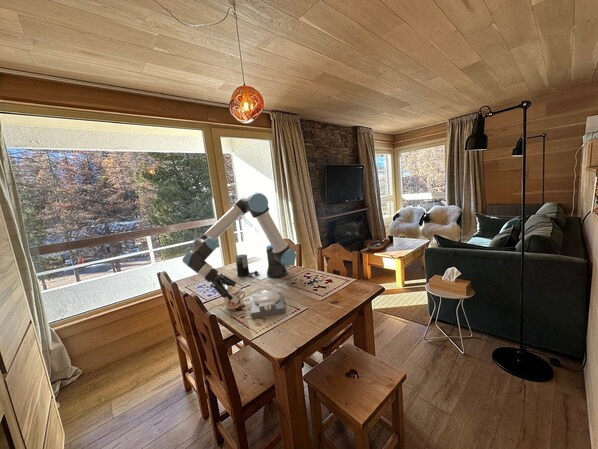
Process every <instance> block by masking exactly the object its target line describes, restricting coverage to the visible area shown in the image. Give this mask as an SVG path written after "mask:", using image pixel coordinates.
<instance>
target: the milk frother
mask: <svg viewBox="0 0 598 449" xmlns="http://www.w3.org/2000/svg"><path fill="white" fill-rule="evenodd" d="M234 258H235V263H236V264H235V265H236V271H237V277H239V278H240V277H247V276H248V275H249V276H250V275H252V274H254V275H258V274H259V273H260V272H259V271H257V270H255V271H254V272H253V271H252V272H250V269H249V262H248V254H239V255H236V256H234Z"/></svg>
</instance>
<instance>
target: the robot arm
mask: <svg viewBox="0 0 598 449" xmlns="http://www.w3.org/2000/svg"><path fill="white" fill-rule="evenodd" d="M269 211H270V208H269V200H268V197H267V196H266V195H264V194H263V193H261V192H247V193H245V194H243V195H242V196H241V197H240V198H239V199H238V200H236V201H235V202H234V203H233V204H232V207H231V208H230V209H229V210H228V211H227V212H225V214H224V215H223V216H222V217H220V219H218V220H217V221H216V222H215V223H214V224H213V225H212V226H211V227H210V228H208V229H207V230H206V231H205V233H203V234H202V235H201V236H200V237H197V238H195V239H194V240H193V247H194V248H195V250H194V251H193V250H190V251H188V252H187V253H185V255H184V256H183V258H182V262H183V263H184V264H185V265H186V266H187V267H188V268H190V269H191V270H192V271H193V272H195V273H196V274H197V275H198V276H200V277H201V278H204V280H205V281H206V282H208V283H211V284H210V286H211V287H212V288H214V290H215V291H216V292H217V293H218V294H219V295H220V296H221V298H225V297H227V298H229V299H230V300H231V301H233V302H234V303H235V304H236V303H237V302H238V301H239V299H238V298H236V297H235V296H234V295H232V294H231V293H230V292H229V293H228V291H227V290H226V289H227V288H226V287H225V286H228V287H229V286H233V287H235V288H239V290H240V291H244V290H243V289H242V288H240V287H239V286H238V285H237V282H236V281H235V280H233V279H231V278H230V277H228V276H226V275H225V274H223V273H221V272H220V274H218V273H219V271H218V269H216V268H214V267H213V266H212V265H211V264H209V263H208V262H207V261H206V260H207V259H208V258H209V257H210V255H211V254H212V253H213V252H214V251H216V249H217V248H218V246H219V243H218V242H217V241H216V240H218V239H219V238H220V236H221V235H222V234H223V233H224V232H225V231H226V230H227V229H229V228H230V227H231V226H232V225H233V224H234V223H235V222H236V221H237V220H238V219H240V217H243V216H245V214H247V213H250V215H251V217H252V218H253V219H256V220H257V222H258V224H259V226H260V228H261V229H262V231H263V233H264V234H265V237H266V238H267V240H268V242H269V243H270V244H268V245H267V246H266V248H265V249H266V256H267V263H268V266H267V270H266V276H267V277H268V278H270V279H278V278H283V277H286V276H287V275H288V269H287V267H290V266H292V265H293V264H294V263H295V261H296V259H297V252H296V250H294V249H293V248H291V246H290V245H289V243H288V242H287V241H285V240H284V238H283V237H282V235H281V232H279V231H280V230H278V228H277V226H276V224H275V221H274V220H273V218H272V216H271V214H270V212H269ZM224 285H225V286H224ZM242 294H244V293H243V292H241V293H240V296H243V295H242Z"/></svg>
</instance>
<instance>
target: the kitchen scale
mask: <svg viewBox="0 0 598 449" xmlns="http://www.w3.org/2000/svg"><path fill="white" fill-rule="evenodd" d="M251 298H252V299H251V307H250V308H251V309H250V316H251V318H250V319H252V318H253V319H257V318H258V317H259V318H265V317H270V316H277V315H283V314H286V307H285V302H284V296H283V291H278V292H274V291H268V292H263V293H260V294H258V295H253V296H252V297H251Z"/></svg>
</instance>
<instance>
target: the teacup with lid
mask: <svg viewBox="0 0 598 449" xmlns="http://www.w3.org/2000/svg"><path fill="white" fill-rule="evenodd" d="M239 288H240V287H239ZM239 288H235V287H233V286H228V288H225V289H226V290H227V291H228V293H229V292H230V293H231V294H232V295H234V296H235V297H236V298H238V299H239V301H238V302H237V303H236V304H235V303H234V302H233V301H231V300H230V299H229V298H227V297H225V298H224V299H223V300H224V306H225V309H226V308H227V309H226V310H235V308H236V309H238V308H239V306H240V307H241V306H242V300H243V299H245V297H246V293H245V291H244V290H243V291H240V290H239ZM241 292H243V293H242V294H243V295H242V297H241V295H240V293H241Z"/></svg>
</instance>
